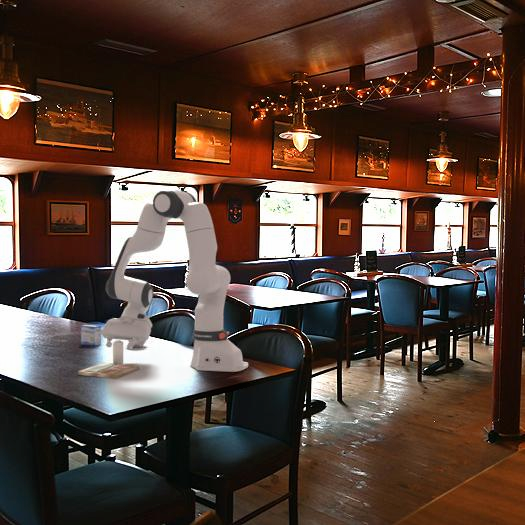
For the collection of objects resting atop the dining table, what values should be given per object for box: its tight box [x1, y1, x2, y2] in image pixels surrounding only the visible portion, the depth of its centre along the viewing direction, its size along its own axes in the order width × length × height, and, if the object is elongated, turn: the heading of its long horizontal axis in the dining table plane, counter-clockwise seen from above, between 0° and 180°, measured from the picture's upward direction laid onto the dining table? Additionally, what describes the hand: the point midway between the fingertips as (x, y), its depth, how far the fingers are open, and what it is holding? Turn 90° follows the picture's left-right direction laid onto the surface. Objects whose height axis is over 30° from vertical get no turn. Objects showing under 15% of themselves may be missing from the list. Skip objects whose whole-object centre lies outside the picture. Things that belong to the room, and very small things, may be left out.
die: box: [127, 340, 147, 348], centre depth 282 cm, size 8×9×10 cm
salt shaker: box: [112, 339, 124, 364], centre depth 247 cm, size 4×4×9 cm
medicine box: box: [80, 324, 102, 346], centre depth 286 cm, size 8×4×9 cm, turn 68°
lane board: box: [77, 362, 140, 380], centre depth 233 cm, size 16×16×2 cm
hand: (118, 347), depth 248 cm, fingers open, 8 cm apart
